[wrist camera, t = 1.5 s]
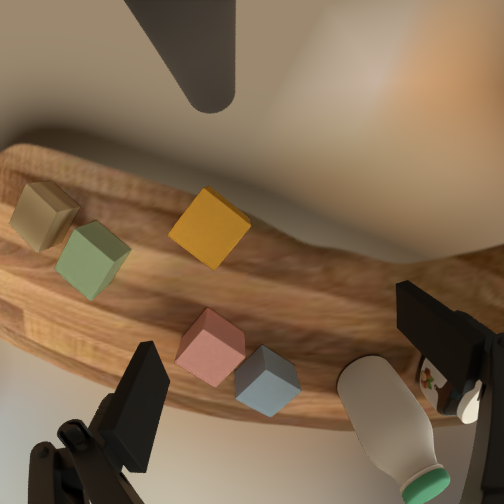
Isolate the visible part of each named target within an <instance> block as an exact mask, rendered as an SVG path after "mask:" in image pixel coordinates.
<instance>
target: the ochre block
mask: <svg viewBox="0 0 504 504" xmlns="http://www.w3.org/2000/svg"><path fill="white" fill-rule="evenodd" d="M250 227H251V223H250V220H249V217H247V216H246V215H245V214H244V213H242V212H241V211H240V210H239V209H237V208H236V207H235V206H234V205H232V204H231V203H230V202H228V201H227V200H226V199H225V198H224V197H222V196H221V195H220V194H219V193H217V192H216V191H215V190H213V189H212V188H211V187H210V186H208V187H204V188H203V189H202V190H201V191H200V192H199V194H198V195H197V196H196V197H195V199H194V200H193V201H192V203H191V204H190V205H189V207H188V208H187V209H186V210H185V212H184V213H183V214H182V216H181V217H180V218H179V220H178V221H177V222H176V224H175V225H174V227H173V228H172V229H171V231H170V232H169V233H168V236H169V237H170V238H171V239H173V240H174V241H175V242H176V243H178V244H179V245H180V246H182V247H183V248H184V249H186V250H187V251H188V252H189V253H191V254H192V255H193V256H195V257H196V258H197V259H199V260H200V261H201V262H202V263H204V264H205V265H206V266H208V267H209V268H210V269H212V270H213V271H215V270H216V268H217V267H218V266H219V265H220V263H221V262H222V261H223V260H224V258H225V257H226V256H227V255H228V254H229V252H230V251H231V250H232V249H233V247H234V246H235V245H236V244H237V243H238V241H239V240H240V239H241V238H242V236H243V235H244V234H245V233H246V232H247V230H248V229H249V228H250Z"/></svg>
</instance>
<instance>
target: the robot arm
mask: <svg viewBox="0 0 504 504" xmlns="http://www.w3.org/2000/svg"><path fill="white" fill-rule="evenodd" d="M396 301H397V328H398V329H399V330H400V331H401V332H402V333H403V334H404V335H405V336H406V337H407V338H408V339H409V341H410V342H411V343H412V344H413V345H414V346H415V347H416V348H417V349H418V350H419V351H420V352H421V353H422V354H423V355H424V356H425V357H426V358H427V359H428V360H429V361H430V362H431V364H432V365H433V366H434V367H435V368H436V369H437V370H438V371H439V372H440V373H441V374H442V375H443V376H444V377H445V379H446V380H447V381H448V382H449V383H450V384H451V385H452V386H453V387H454V388H455V389H456V391H457V392H458V393H459V394H460V395H461V396H462V395H464V394H466V393H468V392H469V391H471V390H473V389H474V388H475V385H476V381H477V378H478V379H479V380H480V381H481V382H482V385H481V388H480V392H479V395H478V398H477V401H479V410H478V419H477V426H476V433H475V440H474V446H473V451H472V456H471V461H470V465H469V470H468V474H467V478H466V482H465V486H464V490H463V493H462V497H461V500H460V504H504V333H499V334H496V333H494V332H493V331H491V330H490V329H489V328H487V327H486V326H484V325H483V324H482V323H479V321H477V320H476V319H473V317H472V316H470V315H469V314H467V313H465V312H462V311H458V310H457V311H455V312H453V311H452V310H450V309H449V308H448V307H446V306H445V305H443V304H442V303H440V302H439V301H438V300H436V299H435V298H433V297H432V296H430V295H429V294H427V293H426V292H424V291H423V290H422V289H420V288H419V287H417V286H416V285H414V284H413V283H411V282H410V281H408V280H406V281H403V282H400V283H397V284H396ZM169 384H170V379H169V377H168V375H167V373H166V371H165V368H164V366H163V364H162V361H161V359H160V357H159V354H158V352H157V350H156V347H155V345H154V342H153V341H147V342H140V344H139V345H138V347H137V349H136V351H135V353H134V355H133V357H132V359H131V361H130V363H129V365H128V367H127V369H126V371H125V373H124V375H123V377H122V378H121V380H120V382H119V384H118V386H117V389H116V391H115V393H110V394H108V395H107V396H106V397H105V398H104V399H103V400H102V402H101V403H100V405H99V409H97V411H96V413H95V414H96V415H94V418H93V419H92V421H91V423H90V425H89V427H88V428H87V427H86V425H85V424H84V423H83V422H82V420H79V419H72V420H69V421H67V422H65V423H64V424H62V425H61V427H60V428H59V429H58V432H57V436H58V438H59V439H60V440H61V442H62V443H63V444H64V445H65V448H60V449H56V448H55V447H54V446H53V445H52V444H51V442H47V441H46V442H41V443H38V444H37V445H36V446H34V448H33V449H32V451H31V454H30V464H29V481H28V504H90V502H91V503H92V504H144V502H143V501H142V500H141V499H140V497H139V495H138V494H137V493H136V491H135V490H134V488H133V487H132V485H131V484H130V483H129V481H128V480H127V478H126V477H125V475H124V474H123V473H122V472H121V470H122V467H123V465H124V466H125V467H126V468H127V470H128V471H129V472H135V473H146V471H147V466H148V462H149V458H150V454H151V450H152V446H153V443H154V439H155V435H156V431H157V427H158V424H159V420H160V416H161V412H162V409H163V405H164V401H165V398H166V394H167V391H168V387H169ZM479 399H480V400H479ZM89 500H90V502H89Z"/></svg>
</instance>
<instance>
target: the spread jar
mask: <svg viewBox="0 0 504 504" xmlns="http://www.w3.org/2000/svg"><path fill="white" fill-rule="evenodd" d="M419 383H420V388H421V390H422V392H423V394H424V396H425V397H426V398H427V400H428V401H429V402H430V404H431V405H432V406H433V408H434V409H435V410H436V411H437V412H438V413H440V414H442V415H445V416H458V417H459V418H460V419H461V421H462V422H463V423H465V424H469V423H472V422H474V421H476V420H477V419H478V410H479V401H477V398H478V395H479V392H480V388H481V385H482V382H481V381H480V380H479V379H478V378H477V381H476V385H475V388H474V389H473V390H471V391H469V392H468V393H466V394H464V395H462V396H461V395H460V394H459V393H458V392H457V391H456V389H455V388H454V387H453V386H452V385H451V384H450V383H449V382H448V381H447V380H446V379H445V377H444V376H443V375H442V374H441V373H440V372H439V371H438V370H437V369H436V368H435V367H434V366H433V365H432V364H431V362H430V361H429V360H428V359H427V358H426V357H425V356H423V358H422V360H421V363H420V368H419ZM479 400H480V399H479Z"/></svg>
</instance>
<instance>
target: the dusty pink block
mask: <svg viewBox="0 0 504 504" xmlns="http://www.w3.org/2000/svg"><path fill="white" fill-rule="evenodd" d="M245 357H246V352H245V336H244V332H243V331H241V330H240V329H238V328H237V327H235V326H234V325H233V324H231V323H230V322H228V321H227V320H225V319H224V318H223V317H221V316H220V315H218V314H217V313H215V312H214V311H213V310H211V309H210V308H208V307H207V308H206V309H205V311H204V312H203V313H202V314H201V315H200V317H199V318H198V319H197V320H196V321H195V323H194V324H193V325H192V326H191V327H190V329H189V330H188V331H187V332H186V333H185V335H184V336H183V337H182V339H181V342H180V345H179V349H178V352H177V355H176V359H175V363H176V364H178V365H179V366H181V367H182V368H184V369H186V370H187V371H189V372H190V373H192V374H194V375H195V376H197V377H198V378H200V379H202V380H203V381H205V382H207V383H208V384H210V385H212V386H213V387H216V386H217V385H218V384H219V383H220V382H221V381H222V380H223V379H225V378H226V377H227V376H228V375H229V374H230V373H231V372H232V371H233V370H234V369H235V368H236V367H237V366H238V364H239V363H240V362H241V361H242V360H243V359H244V358H245Z"/></svg>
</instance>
